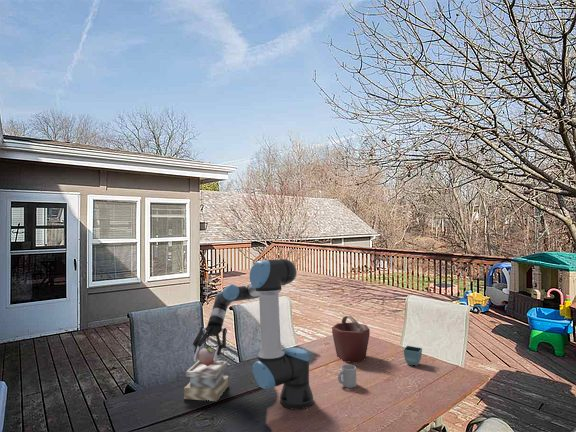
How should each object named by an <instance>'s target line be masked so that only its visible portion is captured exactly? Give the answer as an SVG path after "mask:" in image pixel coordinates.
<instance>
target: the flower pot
mask: <svg viewBox="0 0 576 432" xmlns="http://www.w3.org/2000/svg"><path fill="white" fill-rule="evenodd" d="M422 351H423V348H422V347H418V346H413V345H412V346H411V345H406V346H405V347H404V348H403V355H404V356H403V357H404V360H405V363H406V364H407V365H408V364H409V366H413V365H415V366H414V367H417V366H418V365H419V364H420V362H421V359H422V355H423V353H422Z"/></svg>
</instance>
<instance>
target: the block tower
mask: <svg viewBox="0 0 576 432" xmlns="http://www.w3.org/2000/svg"><path fill="white" fill-rule="evenodd" d="M227 366H228V361H226V360H225V361H224V360H223V361H222V360H220V361H219V360H217V362H216V363H215V362H214V363H212V364H211V365H209V366H206V365H204V364H202V363H200V361H199V359H197V362H195V363H193V365H192V366H191V367H189V368H188V369H187V370H186V371H185V377H187V378H188V377H189V383H187V385H186V386H184V387H183V399H184V400H194V401H195V400H196V401H206V400H207V401H208V400H209V401H208V402H218V401H219V399H220V398H221V397H220V396H222V395H223V394H224V393H225V392H226V390H227V388H228V387H229V375H224V370H225V369H226V368H227ZM223 392H224V393H223ZM217 400H218V401H217Z"/></svg>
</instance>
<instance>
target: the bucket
mask: <svg viewBox="0 0 576 432" xmlns="http://www.w3.org/2000/svg"><path fill="white" fill-rule="evenodd" d="M348 319H349V320H350V321H351V322H347V320H348ZM331 327H332V328H331V333H332V338H333V343H334V344H333V345H334V347H335V348H334V349H335V353H336V358H337V357H339V358H340V359H339V358H338V359H339V360H341V359H342V360H343V362H344V361H350V362H349V363H355V362H357V363H360V362H363V361H365V360H366V356H367V351H368V346H369V341H370V335H371V333H370V330H371V329H370V327H368V326H367V324H362V323H359V322H358V321H357V319H356V318H354V317H353V316H351V315H344V316H343V317H342V319H341V322H339V323H336V324H335V325H333V326H331ZM364 359H365V360H364ZM342 360H341V361H342ZM362 360H363V361H362ZM359 361H360V362H359Z"/></svg>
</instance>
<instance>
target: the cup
mask: <svg viewBox="0 0 576 432" xmlns="http://www.w3.org/2000/svg"><path fill="white" fill-rule="evenodd" d="M337 381H338V383H339V384H340V385H342V386H343V387H344V388H347V389H353V387H354V388H356V386H357V367H356V366H355V365H353V364H349V363H347V364H343V365H341V370H339V371H338V373H337Z"/></svg>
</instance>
